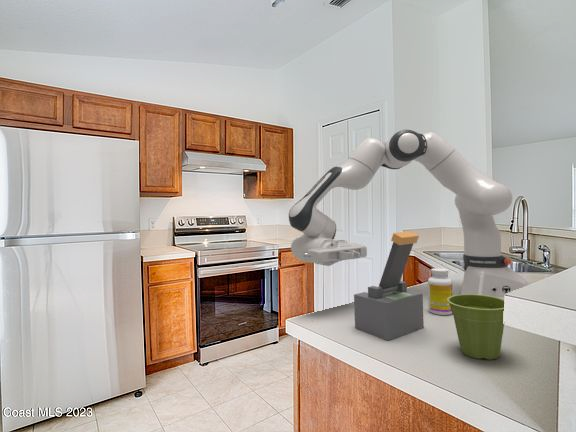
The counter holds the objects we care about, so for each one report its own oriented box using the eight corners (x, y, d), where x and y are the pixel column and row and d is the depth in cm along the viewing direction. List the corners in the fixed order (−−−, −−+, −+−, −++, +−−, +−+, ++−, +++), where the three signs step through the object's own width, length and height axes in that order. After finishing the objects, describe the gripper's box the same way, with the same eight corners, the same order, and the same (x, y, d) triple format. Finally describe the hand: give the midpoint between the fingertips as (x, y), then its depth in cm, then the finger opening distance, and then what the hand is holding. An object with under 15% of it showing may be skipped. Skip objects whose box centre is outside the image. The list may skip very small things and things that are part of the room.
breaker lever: (374, 290, 86) (393, 233, 80) (391, 286, 89) (410, 231, 84) (381, 296, 84) (401, 237, 78) (398, 292, 87) (419, 235, 82)
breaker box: (355, 328, 87) (353, 285, 87) (389, 317, 95) (388, 277, 95) (388, 340, 78) (386, 292, 78) (423, 327, 86) (422, 283, 85)
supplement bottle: (456, 316, 94) (454, 271, 93) (431, 315, 95) (430, 271, 95) (449, 309, 100) (448, 267, 100) (426, 308, 102) (425, 267, 101)
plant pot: (455, 338, 78) (453, 291, 78) (515, 350, 71) (513, 298, 70) (441, 356, 69) (440, 303, 69) (509, 372, 62) (507, 312, 61)
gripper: (299, 244, 101) (328, 248, 89) (347, 239, 112) (379, 242, 101) (300, 265, 101) (329, 271, 90) (348, 258, 112) (379, 262, 101)
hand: (356, 255), depth 95 cm, fingers closed
